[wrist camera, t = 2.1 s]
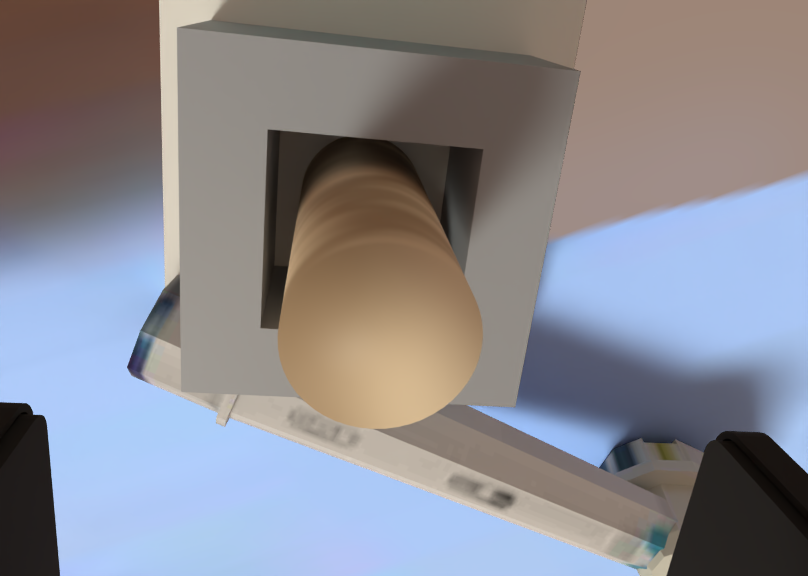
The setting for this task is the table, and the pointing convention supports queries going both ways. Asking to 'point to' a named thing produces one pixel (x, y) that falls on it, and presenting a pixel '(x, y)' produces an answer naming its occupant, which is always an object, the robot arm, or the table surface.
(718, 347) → the table surface
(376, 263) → the beech pin
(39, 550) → the robot arm
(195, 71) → the dock board
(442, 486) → the light grey long piece
